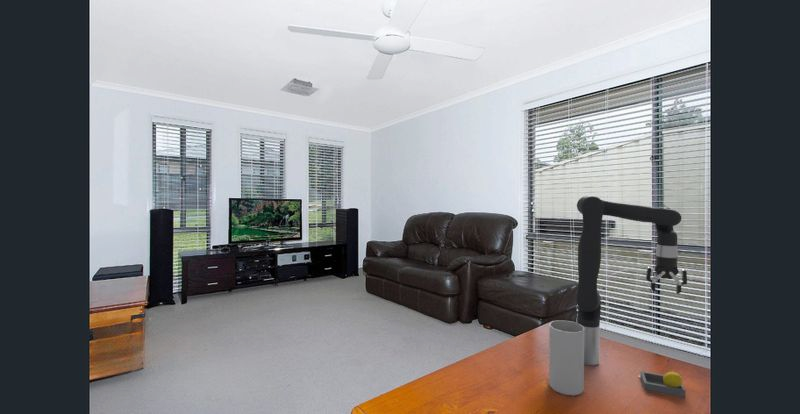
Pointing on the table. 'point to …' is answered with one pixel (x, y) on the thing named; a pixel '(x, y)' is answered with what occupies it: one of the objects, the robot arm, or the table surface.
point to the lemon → (672, 379)
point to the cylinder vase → (566, 357)
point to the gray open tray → (660, 385)
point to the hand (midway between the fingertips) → (665, 292)
